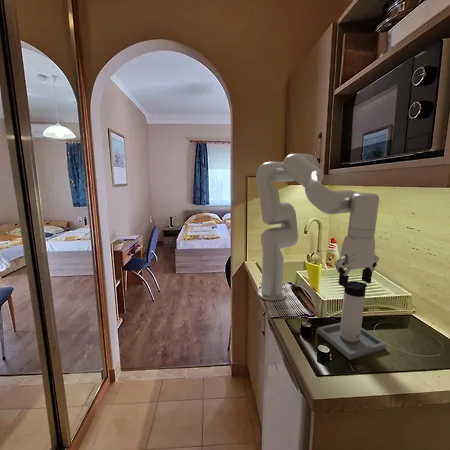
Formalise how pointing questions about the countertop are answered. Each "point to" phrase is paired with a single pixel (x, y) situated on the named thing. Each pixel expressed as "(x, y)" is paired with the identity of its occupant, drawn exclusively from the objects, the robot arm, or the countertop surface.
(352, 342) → the travel mug
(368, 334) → the tray
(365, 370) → the countertop surface
